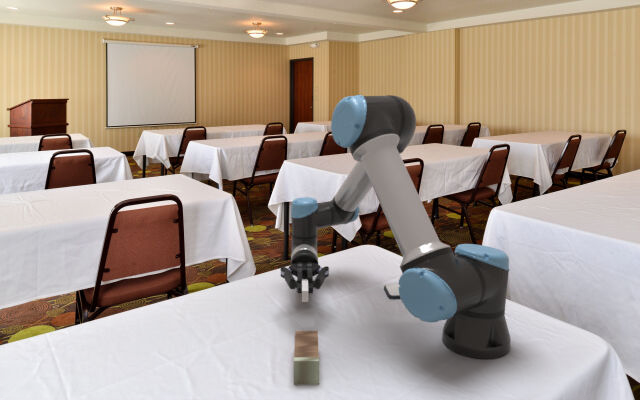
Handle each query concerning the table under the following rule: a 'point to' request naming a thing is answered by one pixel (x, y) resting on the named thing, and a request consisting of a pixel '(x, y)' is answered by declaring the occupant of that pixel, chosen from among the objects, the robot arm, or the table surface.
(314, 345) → the walnut block
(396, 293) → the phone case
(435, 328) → the table surface
